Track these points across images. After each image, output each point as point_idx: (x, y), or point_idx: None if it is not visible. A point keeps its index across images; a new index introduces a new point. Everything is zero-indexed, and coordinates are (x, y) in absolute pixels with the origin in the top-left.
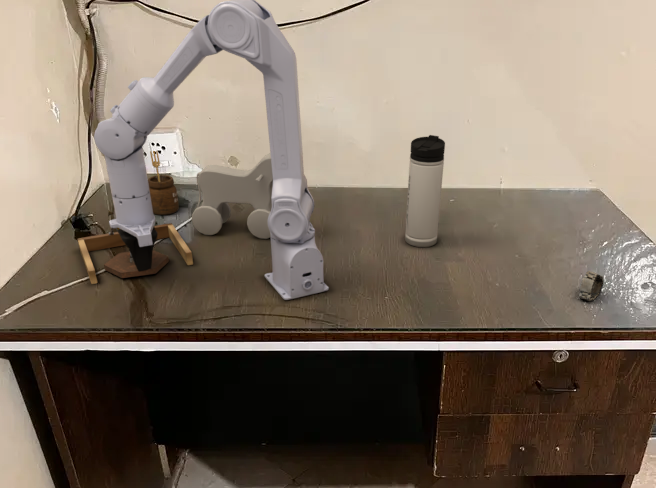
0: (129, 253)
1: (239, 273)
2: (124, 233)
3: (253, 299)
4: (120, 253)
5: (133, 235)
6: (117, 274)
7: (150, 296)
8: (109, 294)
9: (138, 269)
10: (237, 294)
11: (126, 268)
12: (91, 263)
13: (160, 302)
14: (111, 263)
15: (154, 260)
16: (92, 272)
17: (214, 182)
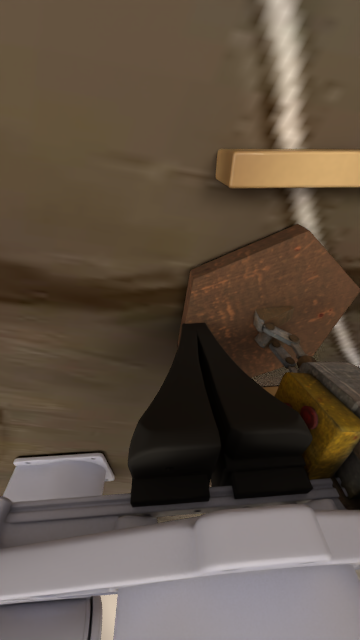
0: (329, 314)
1: (128, 434)
2: (209, 457)
3: (26, 436)
4: (353, 292)
5: (15, 550)
6: (216, 261)
7: (65, 315)
8: (106, 209)
9: (182, 328)
10: (48, 425)
11: (221, 297)
12: (310, 182)
13: (26, 330)
14: (298, 258)
15: (232, 359)
16: (228, 171)
17: (357, 572)
